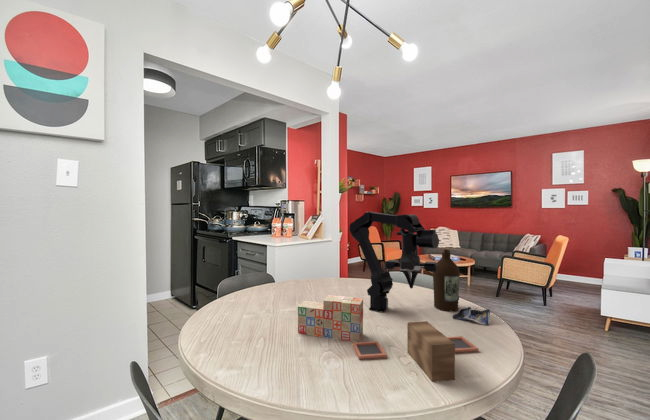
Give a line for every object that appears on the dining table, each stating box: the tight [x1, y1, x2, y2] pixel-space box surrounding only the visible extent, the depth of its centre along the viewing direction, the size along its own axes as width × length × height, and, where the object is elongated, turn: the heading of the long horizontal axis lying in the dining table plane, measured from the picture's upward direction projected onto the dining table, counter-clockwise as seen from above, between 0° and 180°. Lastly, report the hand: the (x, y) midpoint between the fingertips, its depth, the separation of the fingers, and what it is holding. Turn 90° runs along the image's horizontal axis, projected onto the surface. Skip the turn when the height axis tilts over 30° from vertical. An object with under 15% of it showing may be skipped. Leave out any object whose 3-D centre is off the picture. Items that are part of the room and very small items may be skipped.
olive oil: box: [432, 248, 461, 312], centre depth 120 cm, size 11×11×25 cm
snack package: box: [452, 306, 491, 326], centre depth 107 cm, size 12×6×12 cm
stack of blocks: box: [297, 294, 364, 343], centre depth 94 cm, size 21×6×12 cm, turn 73°
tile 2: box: [446, 335, 480, 354], centre depth 86 cm, size 8×8×1 cm
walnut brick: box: [406, 320, 456, 383], centre depth 76 cm, size 14×6×9 cm, turn 8°
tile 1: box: [352, 340, 388, 361], centre depth 82 cm, size 8×8×1 cm
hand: (411, 288), depth 107 cm, fingers closed
